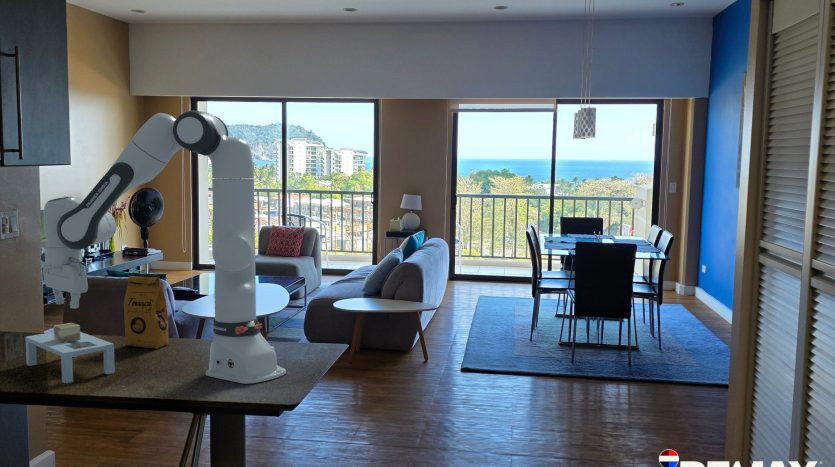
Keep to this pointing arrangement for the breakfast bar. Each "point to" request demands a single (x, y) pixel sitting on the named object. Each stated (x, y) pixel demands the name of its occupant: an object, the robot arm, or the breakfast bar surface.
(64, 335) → the peg
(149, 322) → the coffee package
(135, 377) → the breakfast bar surface
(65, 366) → the keyhole stand
